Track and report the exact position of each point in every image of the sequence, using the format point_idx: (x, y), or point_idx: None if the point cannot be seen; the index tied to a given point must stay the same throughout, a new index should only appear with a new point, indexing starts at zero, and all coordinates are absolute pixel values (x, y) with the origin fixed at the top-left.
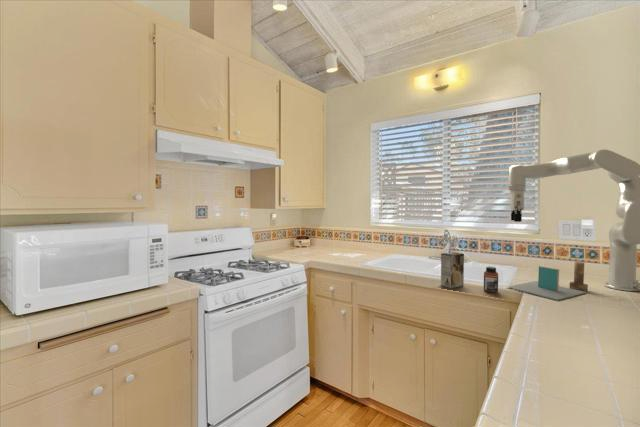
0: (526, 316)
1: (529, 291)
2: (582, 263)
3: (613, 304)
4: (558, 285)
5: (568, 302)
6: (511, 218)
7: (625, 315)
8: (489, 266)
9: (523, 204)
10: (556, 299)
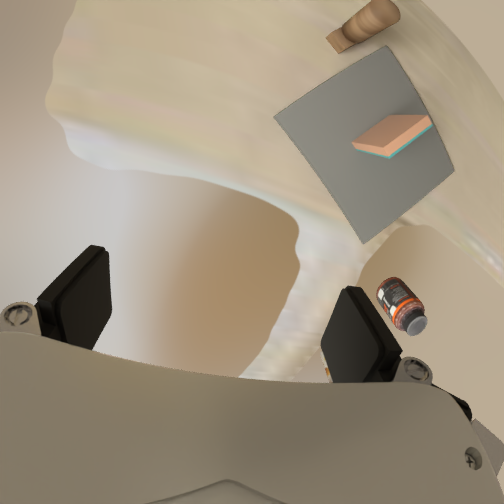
0: (494, 269)
1: (403, 202)
2: (399, 12)
3: (454, 63)
4: (398, 115)
5: (457, 151)
6: (104, 325)
7: (498, 104)
8: (408, 329)
9: (491, 475)
10: (452, 172)
